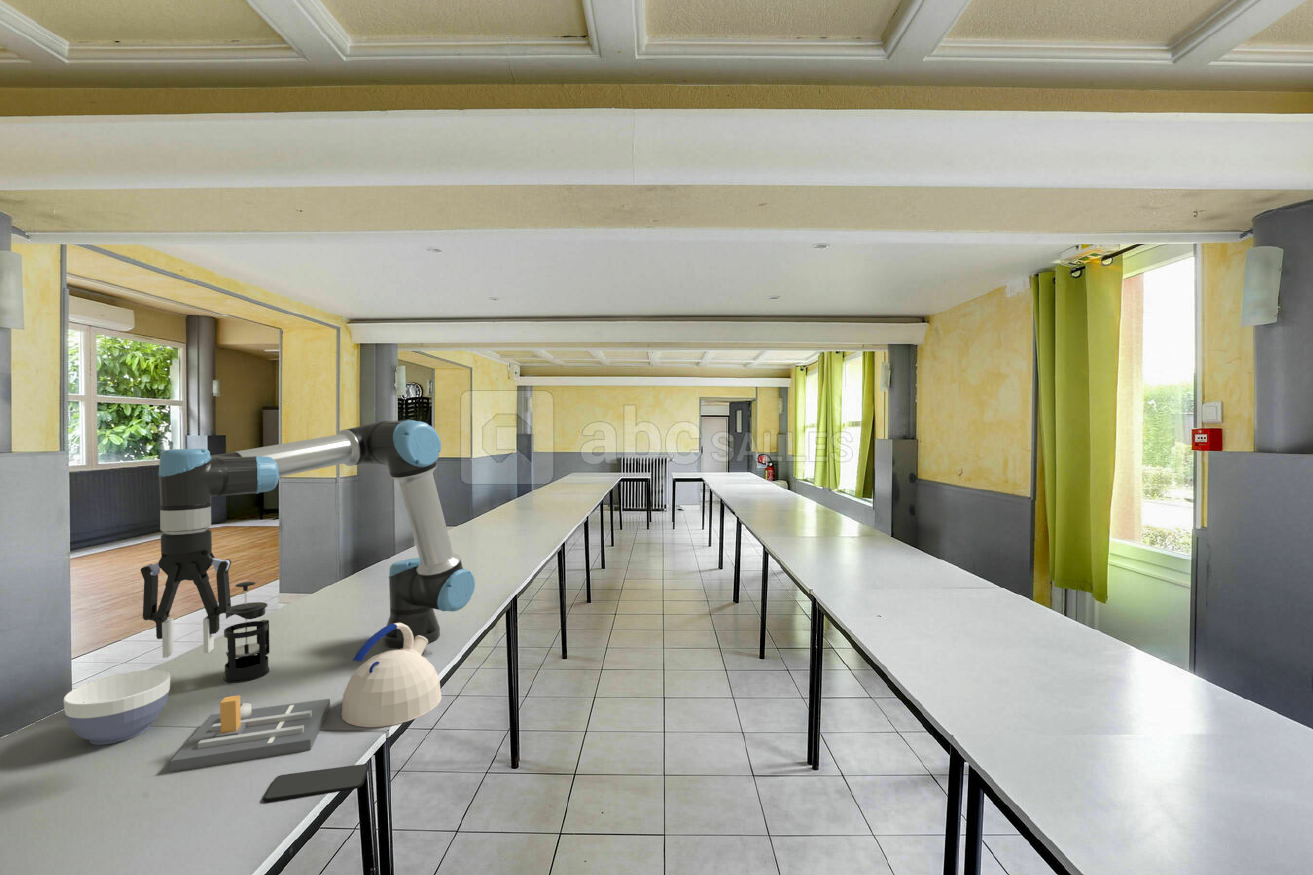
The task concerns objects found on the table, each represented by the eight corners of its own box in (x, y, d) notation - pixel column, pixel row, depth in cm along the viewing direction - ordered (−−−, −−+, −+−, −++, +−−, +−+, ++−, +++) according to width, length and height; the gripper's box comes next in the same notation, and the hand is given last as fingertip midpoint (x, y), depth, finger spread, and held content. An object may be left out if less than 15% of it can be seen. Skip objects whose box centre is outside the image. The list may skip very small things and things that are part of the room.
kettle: (461, 691, 137) (460, 614, 137) (395, 735, 118) (393, 645, 117) (391, 680, 144) (390, 606, 144) (318, 720, 124) (316, 634, 124)
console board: (330, 707, 130) (329, 688, 130) (310, 749, 113) (310, 727, 112) (210, 724, 123) (210, 704, 123) (170, 771, 106) (170, 748, 105)
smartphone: (362, 785, 100) (260, 800, 96) (362, 791, 100) (260, 805, 96) (370, 762, 108) (276, 774, 103) (370, 767, 108) (276, 780, 103)
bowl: (80, 763, 108) (78, 711, 108) (53, 739, 117) (52, 691, 117) (184, 726, 122) (183, 680, 122) (154, 707, 130) (153, 664, 130)
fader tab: (245, 727, 117) (245, 692, 117) (237, 738, 113) (237, 702, 113) (224, 730, 116) (223, 695, 116) (215, 741, 112) (214, 705, 112)
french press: (246, 684, 141) (245, 589, 141) (211, 683, 143) (209, 588, 142) (283, 665, 153) (281, 576, 153) (250, 663, 154) (248, 575, 154)
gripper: (250, 524, 118) (252, 640, 119) (135, 530, 112) (138, 651, 113) (237, 530, 111) (239, 653, 111) (114, 537, 105) (117, 666, 105)
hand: (188, 652), depth 112 cm, fingers open, 6 cm apart
